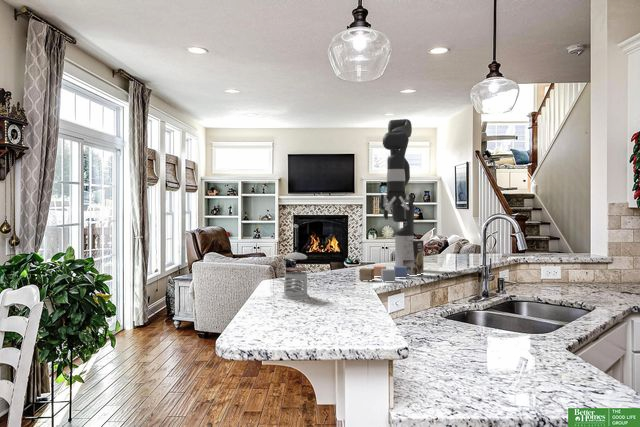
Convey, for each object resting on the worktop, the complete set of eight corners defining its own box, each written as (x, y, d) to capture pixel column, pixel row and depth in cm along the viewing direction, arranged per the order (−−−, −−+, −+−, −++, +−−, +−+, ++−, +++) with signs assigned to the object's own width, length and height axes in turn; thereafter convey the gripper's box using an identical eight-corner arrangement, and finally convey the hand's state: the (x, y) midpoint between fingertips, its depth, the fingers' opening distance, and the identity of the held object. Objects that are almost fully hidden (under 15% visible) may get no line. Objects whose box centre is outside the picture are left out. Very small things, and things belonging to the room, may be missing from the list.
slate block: (381, 280, 192) (381, 268, 192) (392, 280, 192) (392, 268, 192) (383, 282, 187) (383, 270, 187) (395, 282, 187) (395, 270, 187)
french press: (306, 299, 149) (306, 224, 149) (273, 298, 151) (272, 224, 151) (312, 294, 159) (312, 224, 159) (281, 293, 161) (281, 223, 161)
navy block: (394, 277, 202) (393, 266, 202) (405, 277, 201) (405, 266, 201) (395, 278, 197) (395, 267, 197) (406, 278, 196) (406, 267, 196)
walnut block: (362, 279, 195) (362, 268, 195) (373, 280, 193) (373, 268, 193) (359, 281, 190) (359, 269, 190) (370, 281, 188) (370, 270, 188)
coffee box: (415, 277, 201) (415, 241, 201) (402, 276, 205) (402, 240, 205) (424, 274, 208) (424, 240, 208) (411, 273, 212) (411, 239, 212)
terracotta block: (374, 276, 204) (374, 265, 204) (386, 276, 203) (385, 265, 203) (373, 278, 199) (373, 266, 199) (385, 278, 198) (385, 267, 198)
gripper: (409, 181, 192) (409, 218, 193) (376, 181, 190) (377, 219, 190) (415, 180, 185) (415, 219, 185) (382, 180, 183) (382, 219, 183)
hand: (396, 219), depth 188 cm, fingers open, 8 cm apart
